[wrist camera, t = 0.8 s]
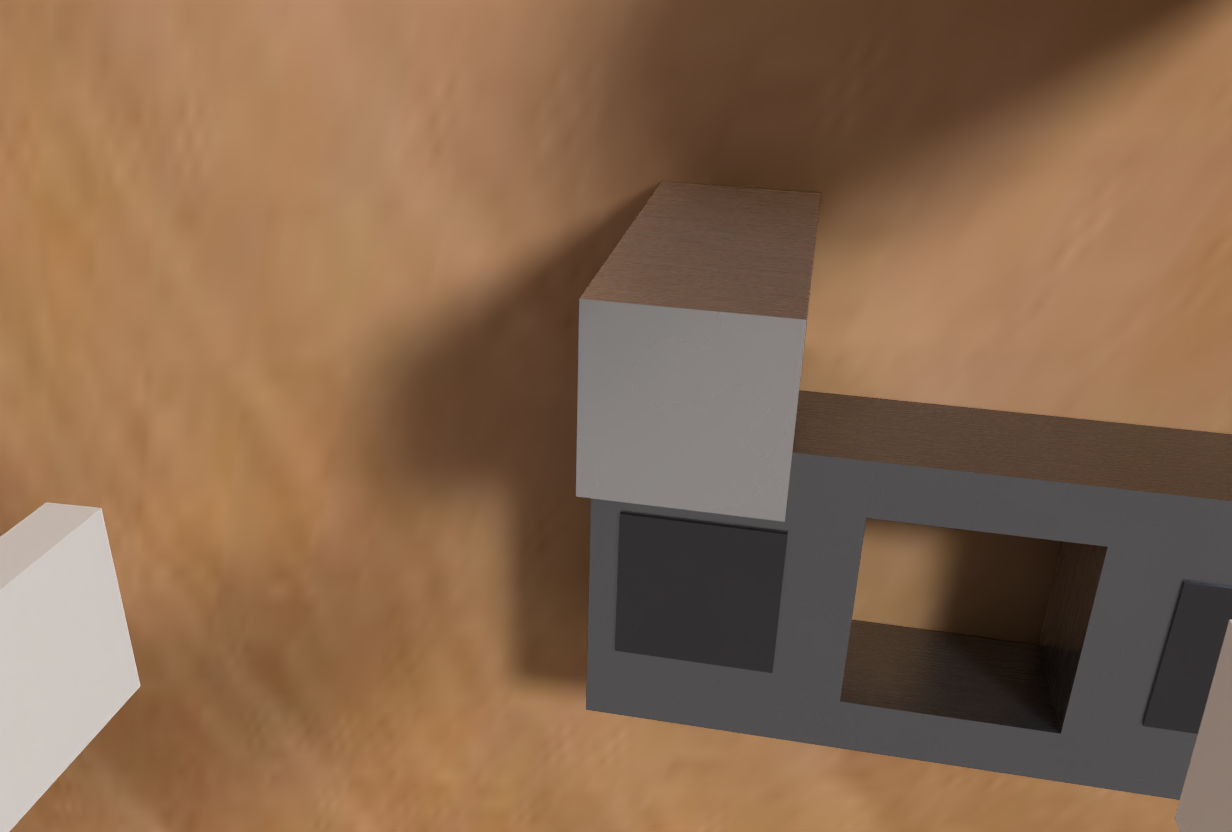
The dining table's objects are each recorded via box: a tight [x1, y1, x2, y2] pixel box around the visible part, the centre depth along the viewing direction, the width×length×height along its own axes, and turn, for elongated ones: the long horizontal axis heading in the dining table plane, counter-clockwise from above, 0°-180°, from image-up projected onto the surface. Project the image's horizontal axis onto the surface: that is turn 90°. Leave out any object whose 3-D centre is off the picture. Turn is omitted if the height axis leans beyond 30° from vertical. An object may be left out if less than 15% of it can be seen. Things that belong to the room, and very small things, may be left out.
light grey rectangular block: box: [576, 181, 821, 522], centre depth 26 cm, size 4×4×10 cm
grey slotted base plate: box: [586, 391, 1232, 800], centre depth 31 cm, size 20×9×4 cm, turn 89°
